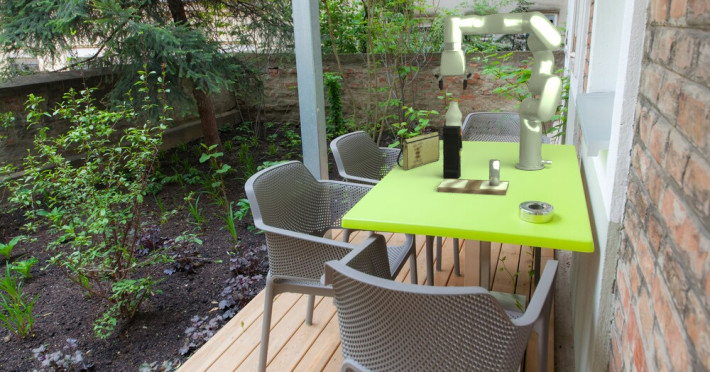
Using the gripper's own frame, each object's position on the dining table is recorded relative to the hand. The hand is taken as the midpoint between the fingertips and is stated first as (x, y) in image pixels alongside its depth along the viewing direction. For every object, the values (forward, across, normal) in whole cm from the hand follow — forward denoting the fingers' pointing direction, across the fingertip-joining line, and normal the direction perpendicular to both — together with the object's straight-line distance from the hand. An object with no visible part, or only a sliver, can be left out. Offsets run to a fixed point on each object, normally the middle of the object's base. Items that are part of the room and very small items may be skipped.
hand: (452, 89), depth 209 cm
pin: (+36, -19, +16) cm, 44 cm away
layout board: (+38, -11, +16) cm, 43 cm away
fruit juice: (+38, +10, -60) cm, 72 cm away
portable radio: (+38, 0, 0) cm, 38 cm away
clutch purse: (+38, +21, -22) cm, 49 cm away
